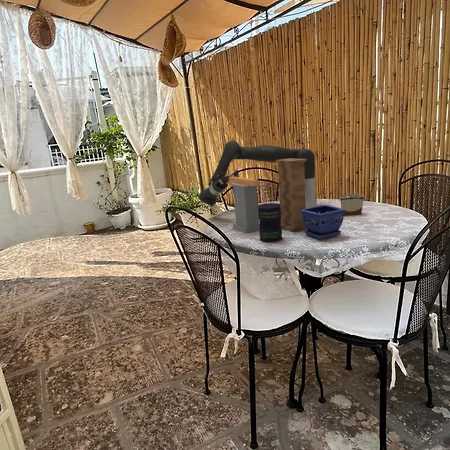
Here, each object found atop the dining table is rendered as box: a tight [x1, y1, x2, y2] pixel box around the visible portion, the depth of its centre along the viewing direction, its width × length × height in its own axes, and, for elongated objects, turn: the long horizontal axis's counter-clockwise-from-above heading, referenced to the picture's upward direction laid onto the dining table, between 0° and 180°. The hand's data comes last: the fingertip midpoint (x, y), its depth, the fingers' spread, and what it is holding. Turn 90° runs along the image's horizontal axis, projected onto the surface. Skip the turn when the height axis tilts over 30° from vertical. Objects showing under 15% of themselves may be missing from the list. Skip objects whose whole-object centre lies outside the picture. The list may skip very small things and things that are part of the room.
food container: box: [338, 193, 365, 217], centre depth 183 cm, size 12×6×10 cm, turn 84°
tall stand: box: [275, 158, 308, 233], centre depth 166 cm, size 12×10×32 cm
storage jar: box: [258, 202, 283, 243], centre depth 154 cm, size 10×10×15 cm
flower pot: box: [301, 204, 345, 241], centre depth 153 cm, size 13×13×12 cm
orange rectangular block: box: [229, 176, 260, 187], centre depth 171 cm, size 22×3×2 cm, turn 29°
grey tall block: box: [230, 183, 260, 234], centre depth 173 cm, size 12×10×22 cm
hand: (230, 172), depth 180 cm, fingers open, 8 cm apart
